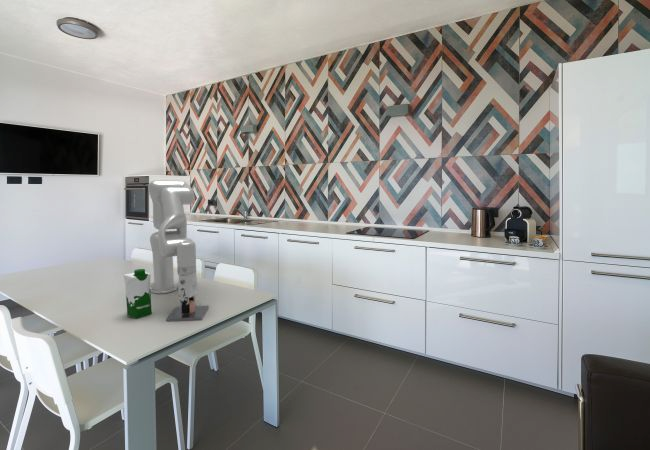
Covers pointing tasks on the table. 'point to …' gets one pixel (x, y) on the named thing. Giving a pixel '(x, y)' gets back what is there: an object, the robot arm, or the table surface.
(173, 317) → the stud plate
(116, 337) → the table surface
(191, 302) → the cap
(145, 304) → the milk carton
